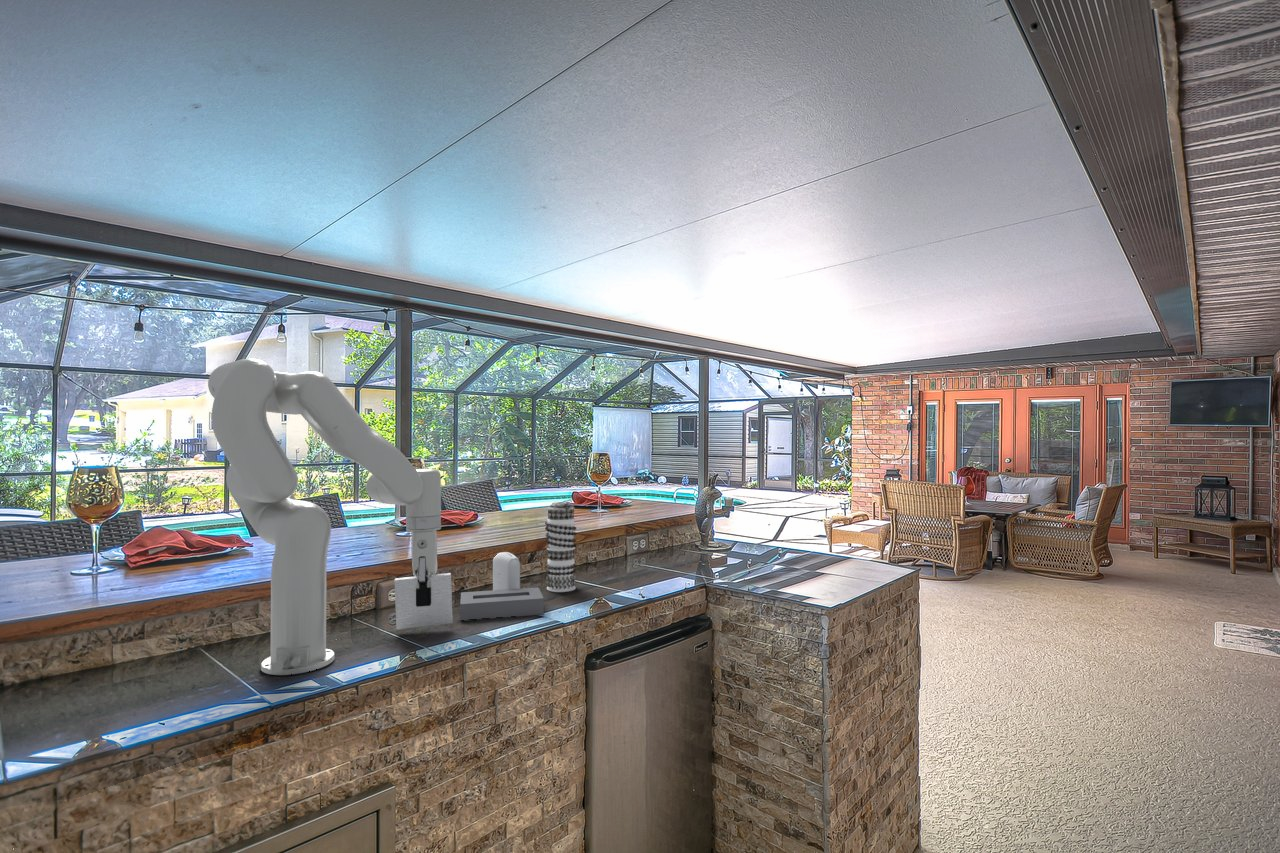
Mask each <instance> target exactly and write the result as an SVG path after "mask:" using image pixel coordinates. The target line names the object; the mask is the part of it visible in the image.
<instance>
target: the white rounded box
mask: <svg viewBox="0 0 1280 853" xmlns="http://www.w3.org/2000/svg"><path fill="white" fill-rule="evenodd" d="M496 554H497V555H496ZM496 554H495V555H496V556H495V555H494V556H495V557H493V559H492V590H507V589H521V563H520V559H519V558H518V557H517V556H516V555H515V554H513V553H511V552H508V551H503V552H501V551H500V552H498V553H496Z"/></svg>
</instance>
